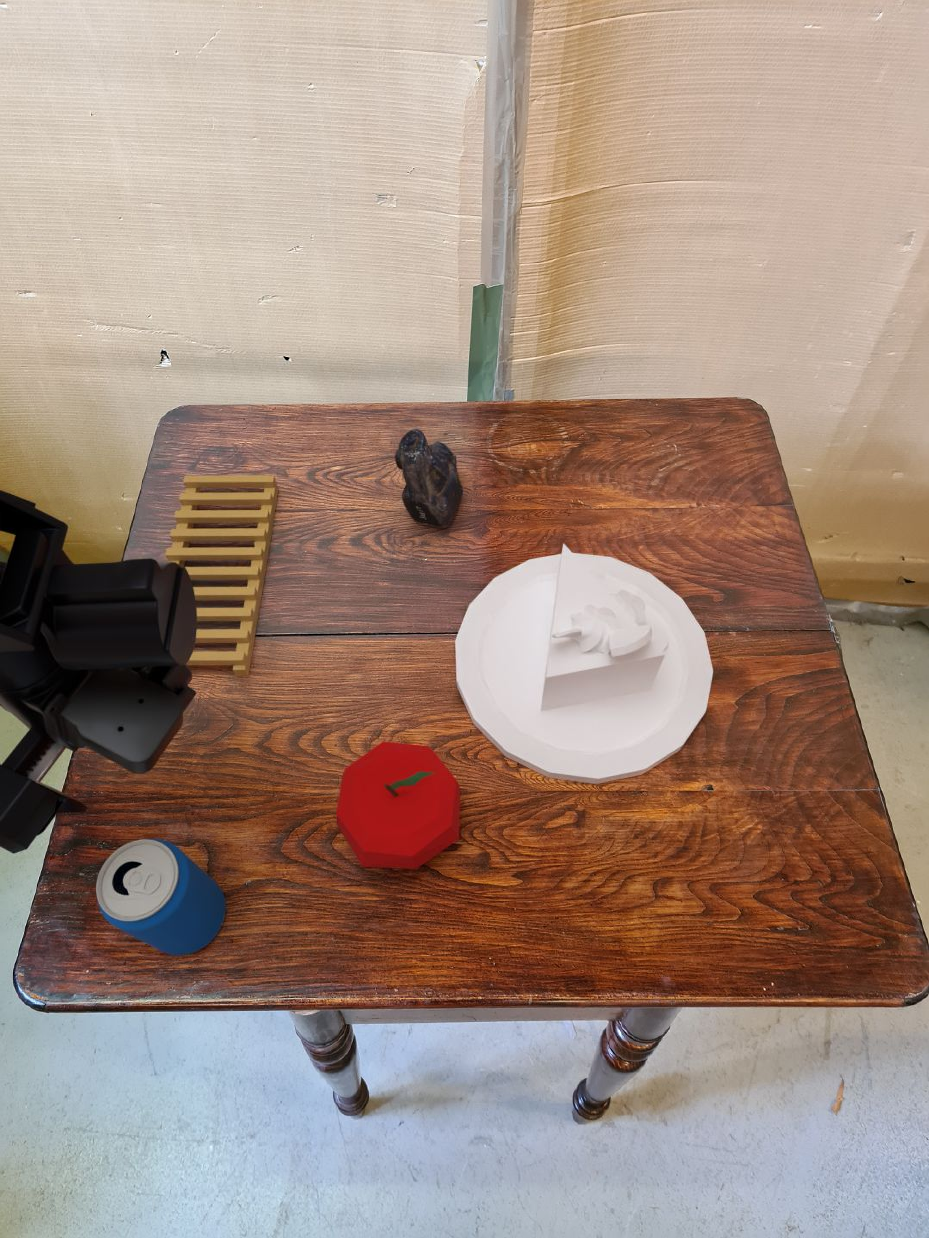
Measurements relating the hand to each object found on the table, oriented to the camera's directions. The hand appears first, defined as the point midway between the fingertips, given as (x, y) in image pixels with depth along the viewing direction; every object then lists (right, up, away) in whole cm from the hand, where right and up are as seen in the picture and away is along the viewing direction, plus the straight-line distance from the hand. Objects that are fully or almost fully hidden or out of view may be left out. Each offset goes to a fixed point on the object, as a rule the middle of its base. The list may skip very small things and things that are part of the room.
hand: (120, 752), depth 59 cm
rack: (-1, +14, +25) cm, 29 cm away
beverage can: (+3, -15, +7) cm, 16 cm away
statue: (+22, +22, +30) cm, 43 cm away
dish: (+37, +6, +19) cm, 42 cm away
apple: (+20, -8, +11) cm, 24 cm away
